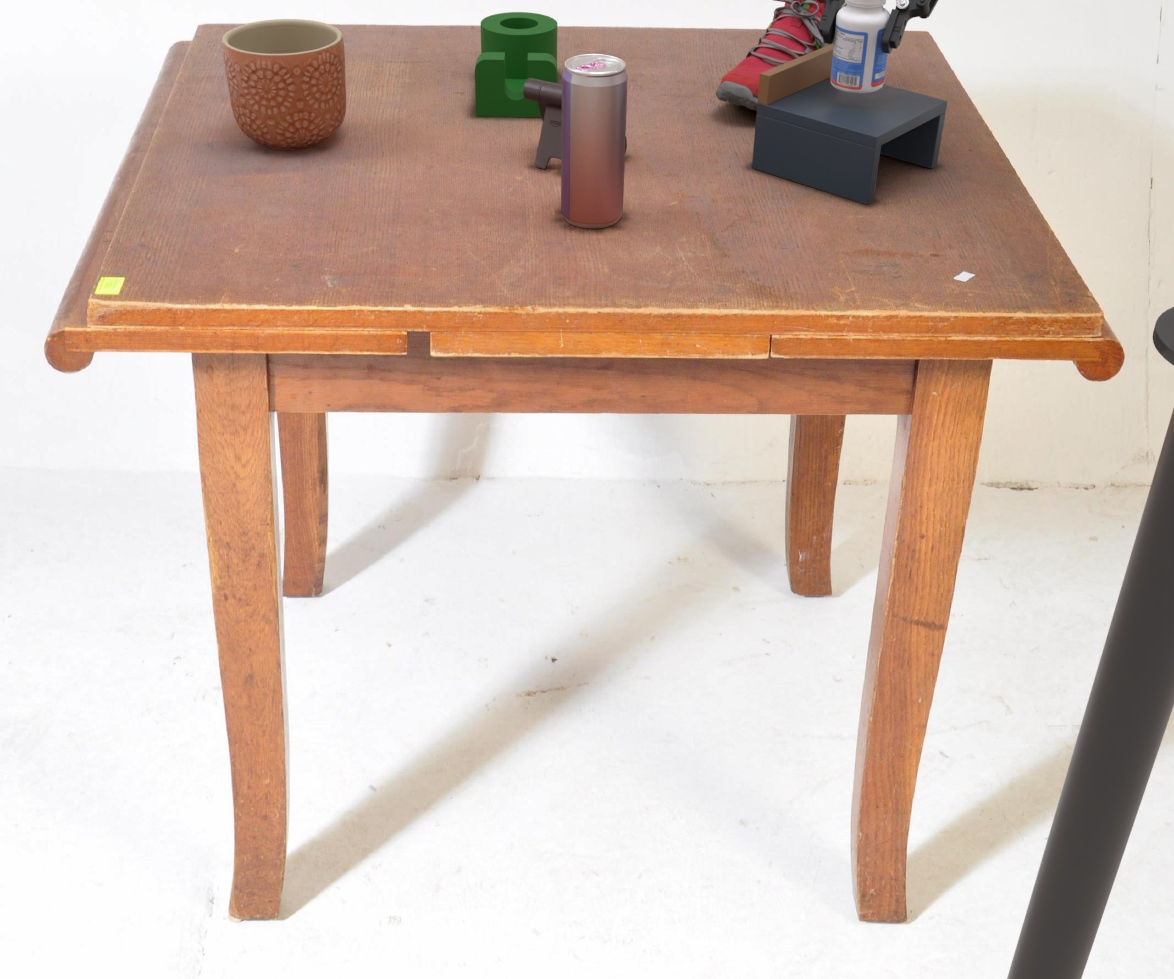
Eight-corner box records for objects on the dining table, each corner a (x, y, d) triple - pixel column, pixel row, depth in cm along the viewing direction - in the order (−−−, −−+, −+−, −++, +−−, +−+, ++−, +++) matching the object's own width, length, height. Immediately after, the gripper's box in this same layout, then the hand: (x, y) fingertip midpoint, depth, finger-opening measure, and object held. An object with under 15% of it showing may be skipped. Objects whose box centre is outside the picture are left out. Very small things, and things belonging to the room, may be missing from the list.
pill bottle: (870, 75, 148) (882, -22, 143) (891, 92, 144) (905, -7, 138) (820, 78, 147) (831, -19, 142) (840, 96, 143) (852, -4, 137)
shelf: (937, 166, 151) (952, 72, 145) (867, 205, 142) (880, 106, 137) (824, 133, 158) (835, 42, 153) (751, 168, 150) (759, 73, 144)
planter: (318, 110, 161) (309, 12, 155) (371, 144, 153) (364, 41, 147) (214, 132, 155) (201, 30, 149) (264, 169, 147) (252, 62, 141)
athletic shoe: (675, 104, 165) (681, -2, 158) (827, 63, 178) (838, -36, 172) (750, 135, 157) (759, 26, 151) (903, 91, 170) (918, -12, 164)
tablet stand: (628, 156, 152) (631, 78, 147) (591, 181, 146) (593, 100, 141) (556, 140, 155) (556, 63, 150) (517, 163, 149) (517, 84, 145)
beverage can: (548, 216, 138) (548, 61, 130) (593, 200, 142) (597, 49, 133) (589, 236, 135) (593, 78, 126) (635, 219, 138) (641, 65, 130)
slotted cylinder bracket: (483, 65, 175) (482, 11, 172) (557, 66, 176) (557, 12, 172) (476, 116, 161) (474, 59, 157) (556, 117, 161) (556, 60, 157)
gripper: (833, -139, 143) (780, 14, 141) (976, -123, 138) (923, 36, 135) (843, -94, 150) (793, 53, 148) (980, -77, 144) (930, 75, 142)
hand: (856, 44), depth 142 cm, fingers closed on pill bottle, 5 cm apart
